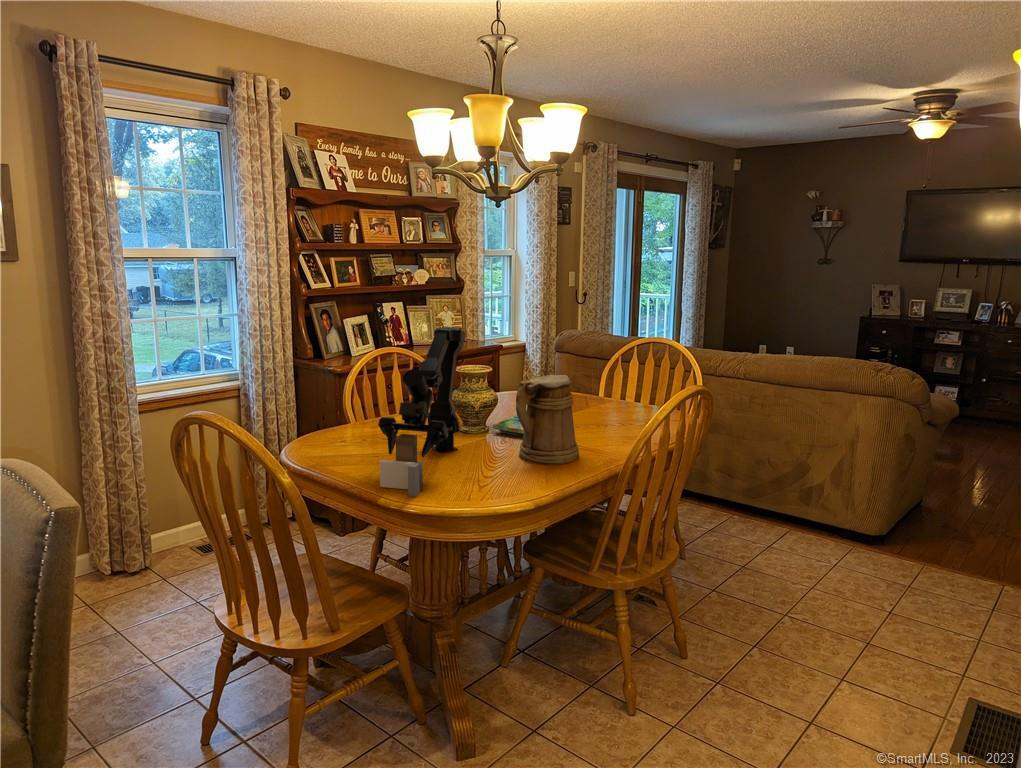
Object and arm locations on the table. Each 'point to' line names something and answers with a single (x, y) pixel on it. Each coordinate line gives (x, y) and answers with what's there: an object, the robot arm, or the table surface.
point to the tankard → (547, 420)
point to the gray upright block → (413, 480)
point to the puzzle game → (510, 426)
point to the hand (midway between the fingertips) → (406, 455)
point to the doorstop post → (406, 448)
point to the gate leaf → (397, 474)
